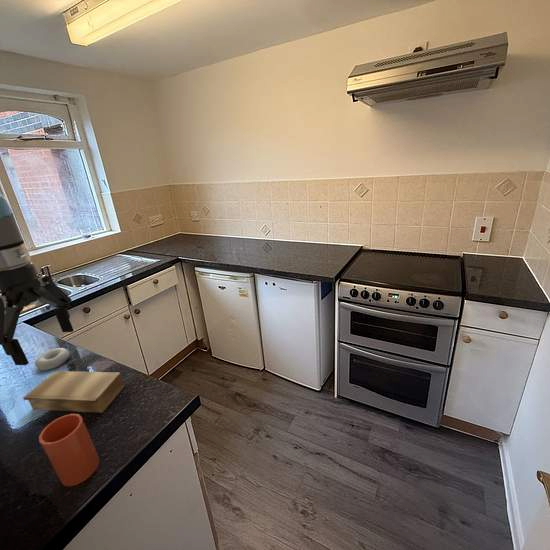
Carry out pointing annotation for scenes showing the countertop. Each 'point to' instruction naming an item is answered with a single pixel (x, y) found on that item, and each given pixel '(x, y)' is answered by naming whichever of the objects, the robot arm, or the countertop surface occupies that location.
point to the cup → (70, 449)
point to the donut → (52, 359)
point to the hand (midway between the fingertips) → (47, 346)
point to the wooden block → (76, 391)
